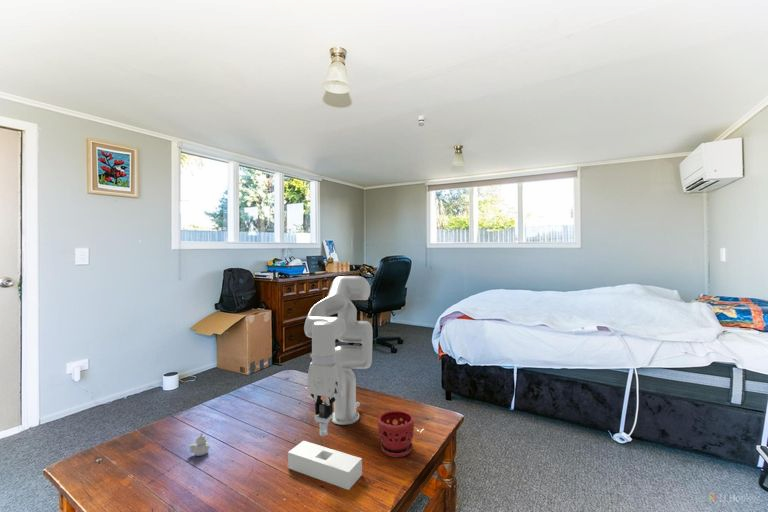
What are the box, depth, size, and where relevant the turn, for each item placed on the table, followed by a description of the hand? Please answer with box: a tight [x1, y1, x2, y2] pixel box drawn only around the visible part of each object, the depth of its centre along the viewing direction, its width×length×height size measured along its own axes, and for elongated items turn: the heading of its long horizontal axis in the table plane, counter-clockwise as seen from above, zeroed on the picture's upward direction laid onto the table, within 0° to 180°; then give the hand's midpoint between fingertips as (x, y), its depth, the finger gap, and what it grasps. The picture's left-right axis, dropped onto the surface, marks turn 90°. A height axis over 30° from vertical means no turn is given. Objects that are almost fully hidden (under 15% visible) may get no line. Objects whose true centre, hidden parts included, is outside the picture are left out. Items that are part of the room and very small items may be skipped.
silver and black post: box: [314, 401, 333, 437], centre depth 114 cm, size 6×6×10 cm
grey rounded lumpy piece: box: [188, 432, 211, 457], centre depth 124 cm, size 5×7×8 cm
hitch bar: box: [287, 440, 363, 491], centre depth 114 cm, size 8×24×5 cm, turn 63°
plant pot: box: [377, 410, 415, 458], centre depth 126 cm, size 13×13×12 cm
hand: (323, 414), depth 114 cm, fingers closed on silver and black post, 3 cm apart
